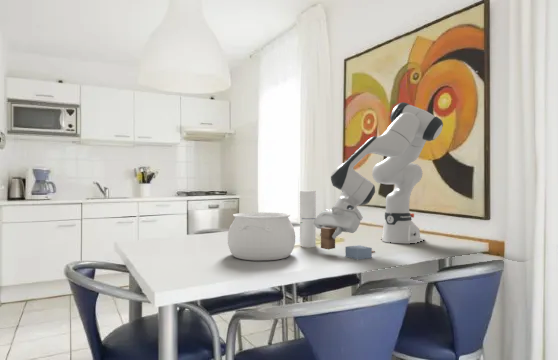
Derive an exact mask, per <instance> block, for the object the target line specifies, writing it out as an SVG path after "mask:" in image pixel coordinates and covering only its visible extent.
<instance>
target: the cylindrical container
mask: <svg viewBox="0 0 558 360" xmlns="http://www.w3.org/2000/svg"><path fill="white" fill-rule="evenodd" d="M316 195H317V194H316V190H299V247H300V246H302V248H315V247H316V245H317V244H316V239H317V237H316V236H317V235H316V233H317V231H316V229H317V227H316V226H315V225H314V220H315V219H316V217H317V216H316V212H317V211H316V210H317V209H316V206H317V204H316V203H317V199H316Z"/></svg>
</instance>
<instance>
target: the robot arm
mask: <svg viewBox="0 0 558 360" xmlns="http://www.w3.org/2000/svg"><path fill="white" fill-rule="evenodd" d="M389 117H390V118H389V119H390V121H391V123H390V124H389V126H388V127H387V129H386V130H385V131H384V132H383V133H382V134H381V135H378V136H374V135H373V136H372V137H369V139H367V140H366V141H365V142H364V143H363V144H362V145H360V147H358V148H357V149H356V150H355V151H354V152H353V153H352V154H351V155H350V156H349V157H348V158H347V159H346V160H345V161H344V162H343V163H341V164H339V166H337V167H336V168H335V169H334V170H333V172H332V173H331V176H330V181H331V184H332V186H333V187H334V188H336V189H338V190H340V191H341V193H340V195H339V197H338V198H337V199H336V201H335V203H334V204H333V205H332V207H331V209H324V210H323V211H321V212H320V213H319V214H318V215H317V216H316V219H315V220H314V225H315V226H316V229H320V230H321V228H325V227H330V228H335V232H334V233H332V234H331V235H330V237H331V239H335V240H336V238H337V237H338V236H339V235H341V234H342V233H349V234H353V233H355V232H357V231H358V228H359V226H360V224H361V221H362V220H363V216H362V215H363V214H362V213H361V212H360V211H359V209H358V206H363V205H367V204H369V203H370V201H371V200H372V198H373V196H374V195H375V193H376V186H375V185H374V183H373V182H372V181H370V180H369V179H367V178H366V177H364V176H362V175H361V174H360V173H359V172H357V171H356V170H355V169H354V167H355V166H356V165H357V164H358V163H360V161H361V160H362V159H363V158H365V157H366V156H367V155H369V154H375V155H379V156H382V157H385V158H384V159H383V160H382V161H380V162H378V163H376V164H375V165H374V166H373V167H372V171H371V172H372V174H371V175H372V178H373V180H374V182H376V183H378V184H383V185H394V188H393V190H392V191H391V192H390V193H388V194H387V195H386V197H385V212H384V220H385V222H384V223H383V226H382V227H383V228H382V237H380V240H381V239H382V242H385V243H390V242H391V244H410V243H415V244H418V243H417V242H419V243H421V242H420V241H422V242H424V241H423V240H425V241H426V239H425V238H423V237H421V233H420V232H421V231H420V227H418V226H417V225H416V224H415V223H414V222H413V221H412V220H413V218H415V213H410V203H411V202H410V201H411V195H412V191H413V189H414V187H415V186H416V185H417V184H418V183H419V182H420V181H421V180H422V178H423V170H422V167H421V166H420V165H419V164H417V163H413V162H416V160H418V159H419V157H420V155H421V152H422V151H423V148H424V147H425V144H426V142H431V141H434V140H435V139H437V138H438V137H439V136H440V134H441V133H442V130H443V127H444V123H443V120H442V119H441V118H439V117H438V116H435V115H433V114H432V113H430V112H429V111H427V110H425V109H422V108H420V107H417V106H414V105H412V104H410V103H408V102H404V101H403V102H399V103H397V104H396V105H395V106H394V107H393V109H392V111H391V113H390V116H389ZM319 236H320V237H321V232H319Z"/></svg>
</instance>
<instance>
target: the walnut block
mask: <svg viewBox="0 0 558 360" xmlns="http://www.w3.org/2000/svg"><path fill="white" fill-rule="evenodd" d="M334 232H335V228H330V227H325V228H321V229H320V233H321V236H320V249H324V250H333V249H336V238H335V239H331V237H330V235H331V234H332V233H334Z"/></svg>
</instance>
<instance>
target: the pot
mask: <svg viewBox="0 0 558 360" xmlns="http://www.w3.org/2000/svg"><path fill="white" fill-rule="evenodd" d="M232 216H233V217H234V219H233V220H232V222H231V224H230V226H229V228H228V233H227V246H228V249H229V251H230V253H231V255H232V256H233V257H234V258H236V259H239V260H243V261H251V262H252V261H254V262H256V261H257V262H267V261H278V260H282V259H285V258H288V257H290V255H291V254H292V253H293V251H294V248H295V246H296V245H295V244H296V232H295V231H296V230H295V227H294V225H293V224H292V222H291V220H290V218H289V217H291V214H290V213H284V212H240V213H239V212H238V213H233V214H232Z"/></svg>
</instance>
